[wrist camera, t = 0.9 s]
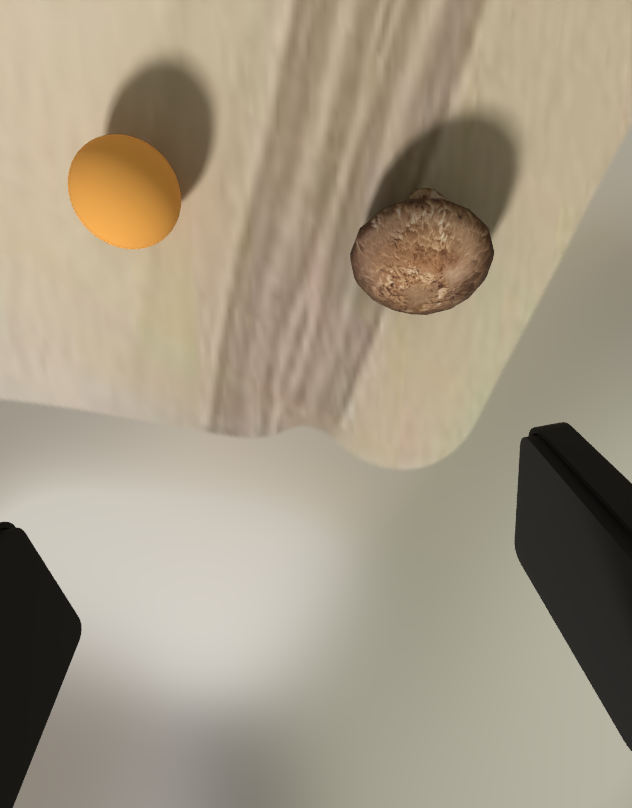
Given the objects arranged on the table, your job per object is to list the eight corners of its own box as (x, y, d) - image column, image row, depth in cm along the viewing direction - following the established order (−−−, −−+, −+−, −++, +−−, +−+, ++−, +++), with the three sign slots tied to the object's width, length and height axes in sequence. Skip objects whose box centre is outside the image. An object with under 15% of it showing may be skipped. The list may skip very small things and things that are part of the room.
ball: (79, 212, 28) (37, 227, 23) (104, 114, 25) (64, 107, 21) (171, 255, 29) (150, 277, 24) (202, 165, 27) (186, 170, 22)
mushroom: (446, 126, 24) (456, 218, 21) (507, 219, 29) (521, 302, 27) (326, 205, 29) (323, 288, 26) (397, 273, 34) (400, 347, 32)
